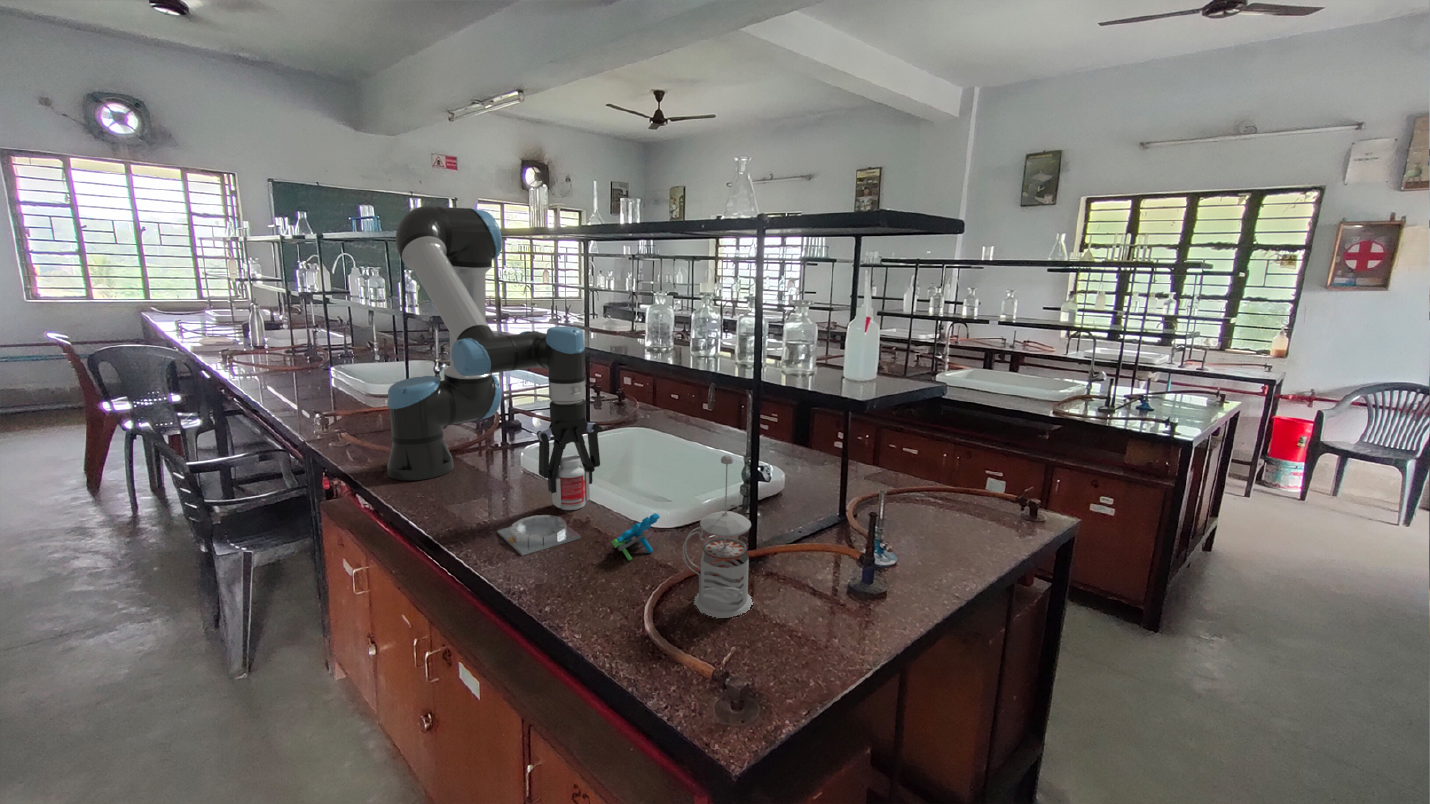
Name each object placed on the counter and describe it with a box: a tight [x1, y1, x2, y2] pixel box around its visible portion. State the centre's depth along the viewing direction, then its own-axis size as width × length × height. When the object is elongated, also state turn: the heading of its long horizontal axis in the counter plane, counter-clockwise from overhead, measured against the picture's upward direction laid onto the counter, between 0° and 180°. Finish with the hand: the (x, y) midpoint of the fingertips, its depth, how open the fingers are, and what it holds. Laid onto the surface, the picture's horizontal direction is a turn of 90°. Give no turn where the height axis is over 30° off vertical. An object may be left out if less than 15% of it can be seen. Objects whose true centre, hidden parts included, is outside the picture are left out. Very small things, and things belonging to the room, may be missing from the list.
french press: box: [682, 454, 754, 619], centre depth 99 cm, size 10×12×25 cm
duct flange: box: [497, 514, 582, 557], centre depth 123 cm, size 12×12×2 cm
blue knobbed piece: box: [610, 512, 661, 562], centre depth 118 cm, size 11×6×10 cm
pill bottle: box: [557, 454, 587, 511], centre depth 137 cm, size 6×6×11 cm
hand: (571, 501), depth 138 cm, fingers closed on pill bottle, 6 cm apart
